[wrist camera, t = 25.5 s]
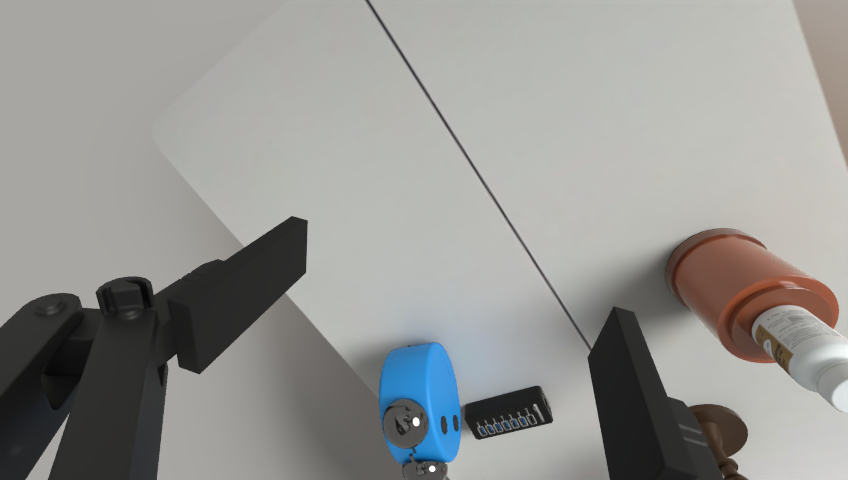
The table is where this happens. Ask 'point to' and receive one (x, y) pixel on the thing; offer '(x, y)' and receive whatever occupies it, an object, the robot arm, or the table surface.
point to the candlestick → (722, 436)
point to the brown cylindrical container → (741, 287)
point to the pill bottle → (806, 351)
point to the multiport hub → (508, 413)
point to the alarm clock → (420, 410)
